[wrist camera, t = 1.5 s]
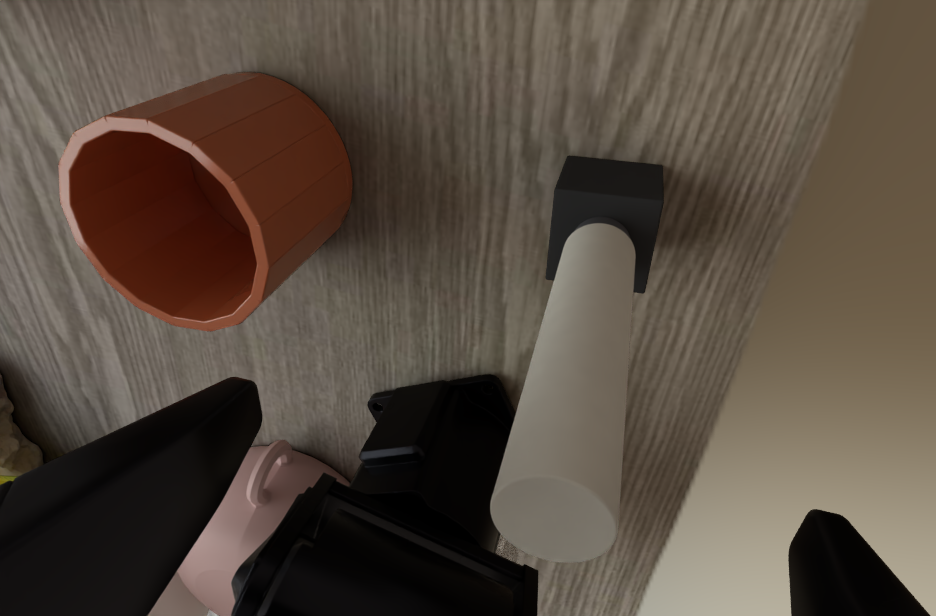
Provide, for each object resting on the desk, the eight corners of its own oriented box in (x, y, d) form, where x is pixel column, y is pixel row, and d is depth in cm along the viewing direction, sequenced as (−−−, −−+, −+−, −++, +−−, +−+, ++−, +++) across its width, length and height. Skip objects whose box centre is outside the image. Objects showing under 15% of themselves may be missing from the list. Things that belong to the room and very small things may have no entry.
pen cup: (383, 223, 23) (308, 306, 18) (249, 265, 25) (152, 346, 20) (294, 40, 20) (174, 79, 15) (154, 110, 22) (15, 161, 18)
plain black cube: (645, 250, 20) (644, 294, 18) (558, 238, 21) (545, 279, 19) (663, 164, 19) (664, 201, 16) (567, 155, 19) (554, 188, 17)
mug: (162, 623, 32) (225, 532, 37) (333, 684, 31) (376, 582, 36) (120, 477, 26) (204, 389, 30) (336, 547, 24) (388, 444, 29)
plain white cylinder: (644, 264, 17) (633, 562, 9) (578, 279, 18) (514, 565, 10) (625, 202, 17) (596, 470, 8) (557, 221, 17) (470, 482, 9)
